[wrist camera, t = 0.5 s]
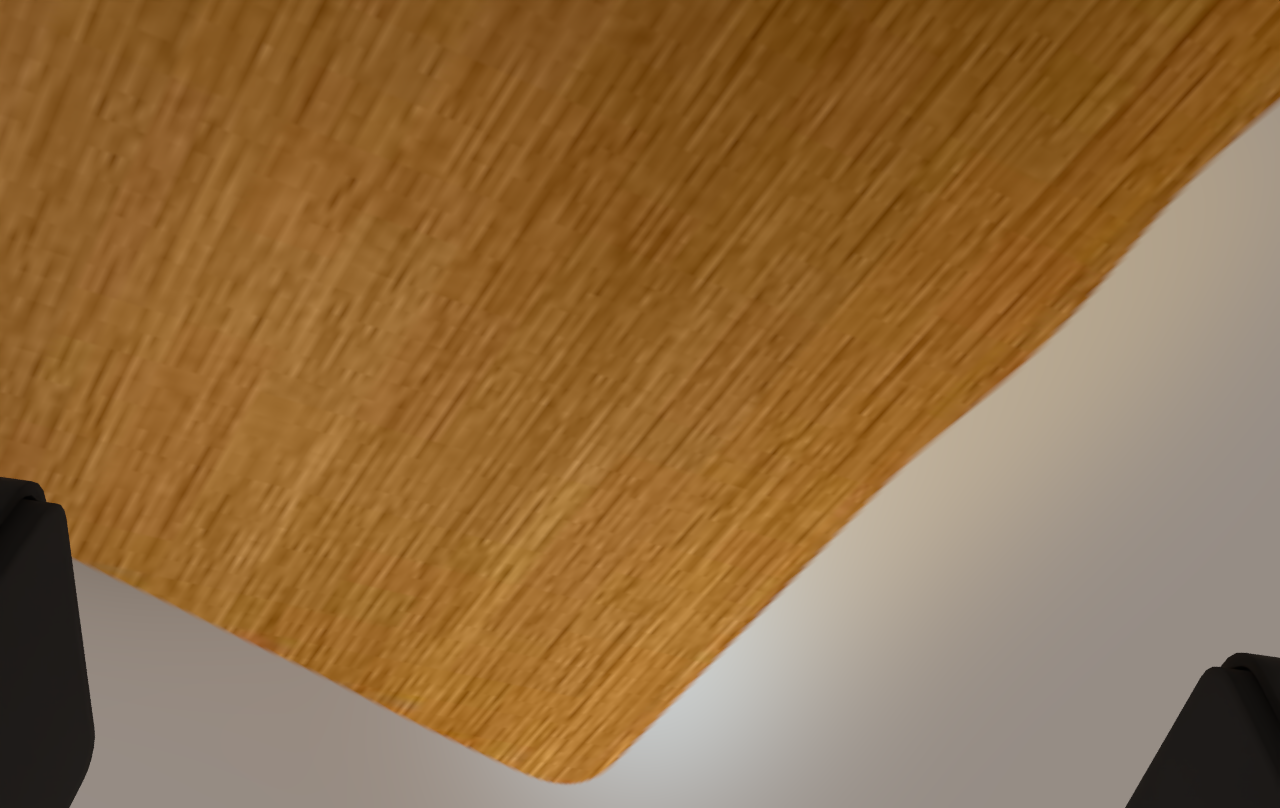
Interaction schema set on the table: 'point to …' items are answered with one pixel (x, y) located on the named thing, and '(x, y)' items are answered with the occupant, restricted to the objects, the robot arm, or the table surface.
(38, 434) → the table surface
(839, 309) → the table surface
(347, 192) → the table surface
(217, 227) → the table surface
